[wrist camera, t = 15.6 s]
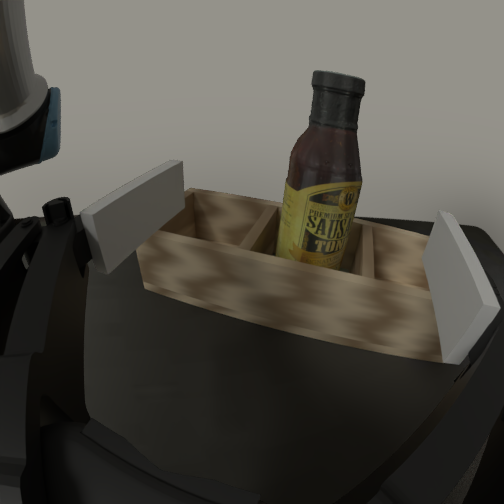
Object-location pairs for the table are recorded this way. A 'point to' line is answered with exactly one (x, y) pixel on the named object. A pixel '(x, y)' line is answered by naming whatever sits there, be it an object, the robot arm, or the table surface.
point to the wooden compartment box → (295, 276)
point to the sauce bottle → (323, 175)
